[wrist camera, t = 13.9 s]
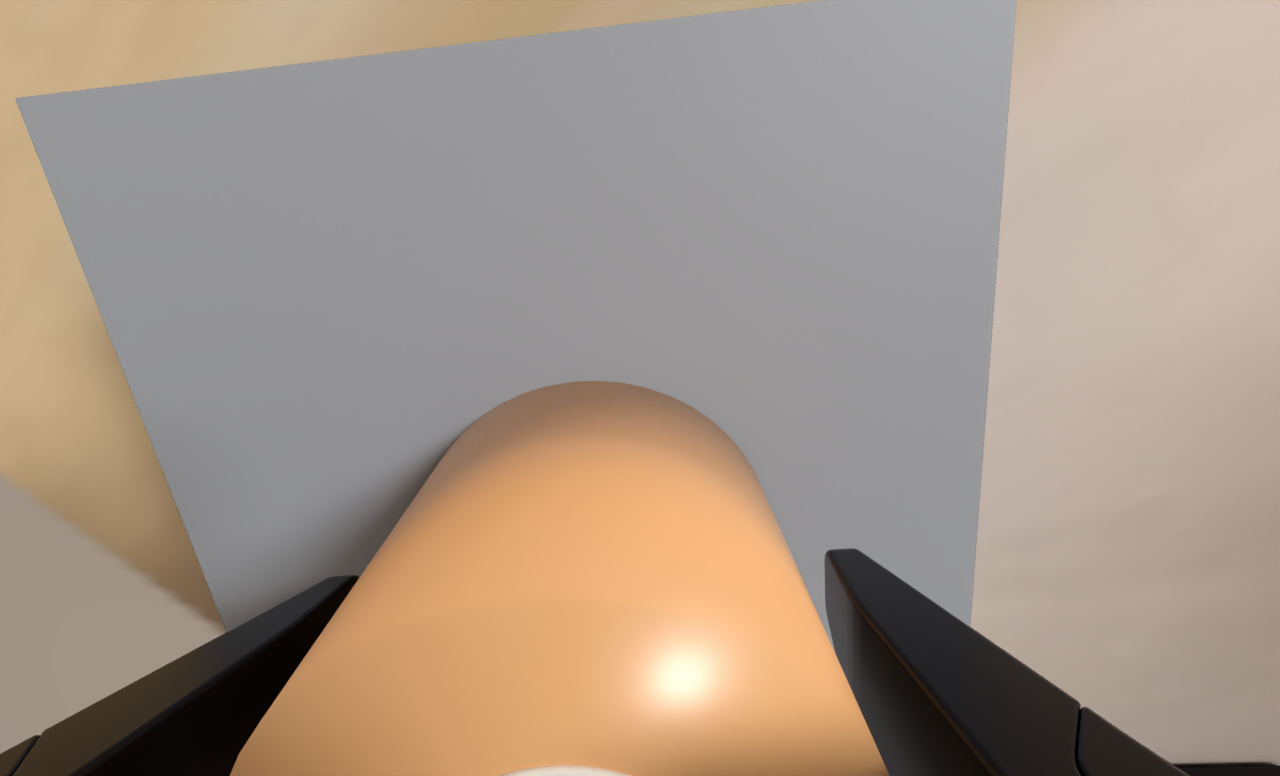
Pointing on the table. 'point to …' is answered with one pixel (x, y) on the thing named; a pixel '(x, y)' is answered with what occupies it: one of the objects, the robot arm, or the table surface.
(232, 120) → the lid
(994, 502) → the table surface
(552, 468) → the orange round cylinder
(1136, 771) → the robot arm
